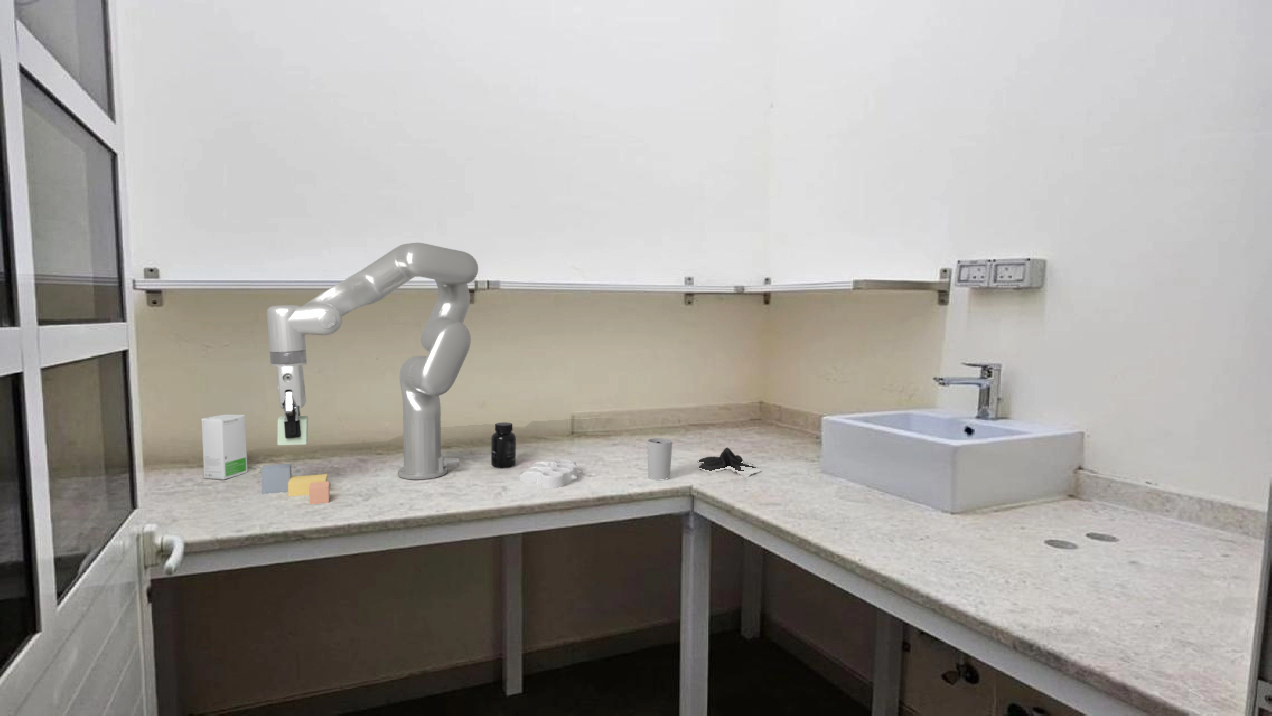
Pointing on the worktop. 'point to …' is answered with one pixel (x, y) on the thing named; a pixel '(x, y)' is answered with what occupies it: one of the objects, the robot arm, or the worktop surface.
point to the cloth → (723, 461)
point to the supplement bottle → (503, 446)
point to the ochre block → (303, 484)
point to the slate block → (275, 478)
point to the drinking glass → (659, 458)
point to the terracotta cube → (319, 492)
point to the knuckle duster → (551, 473)
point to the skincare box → (224, 446)
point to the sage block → (292, 441)
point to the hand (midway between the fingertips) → (294, 434)
